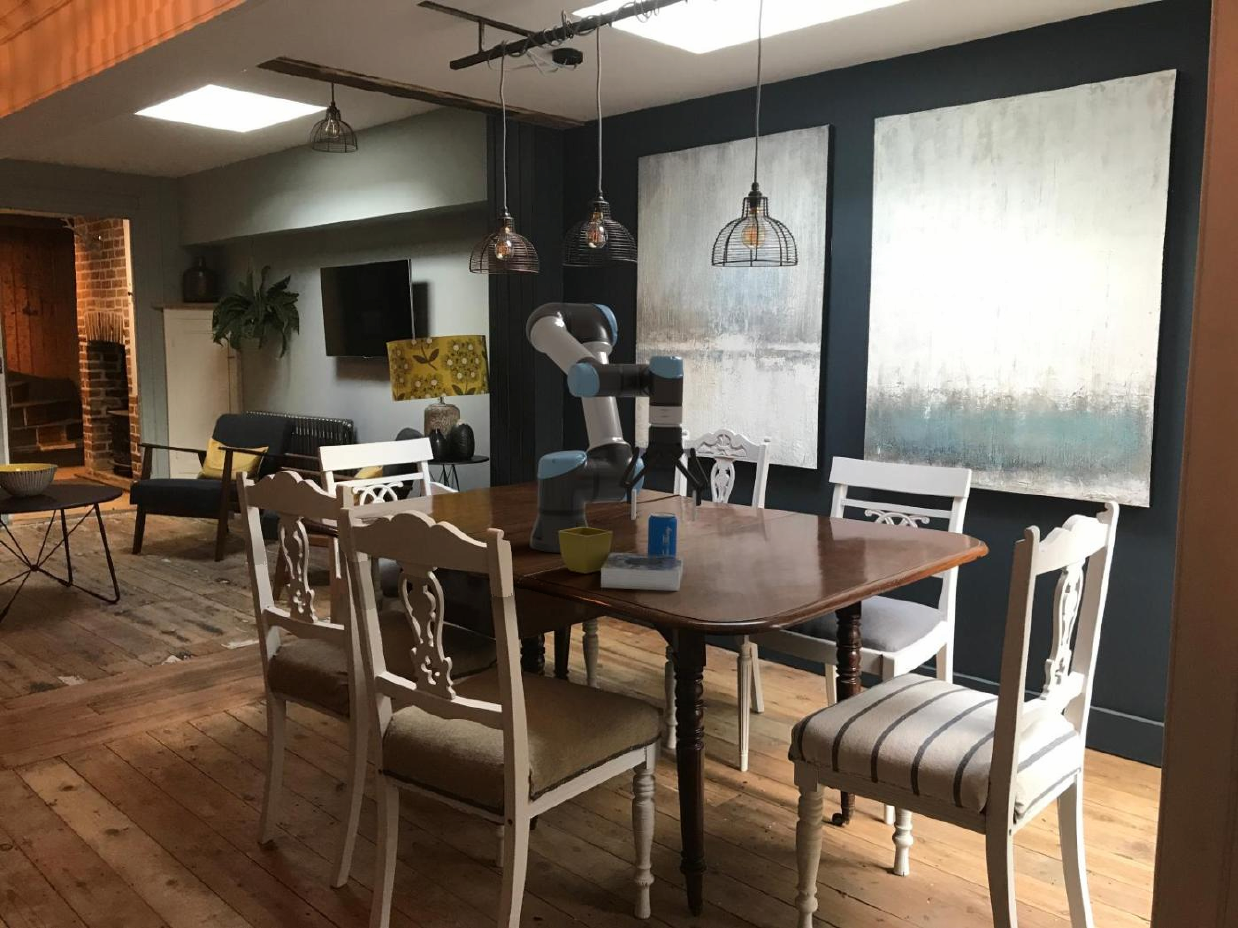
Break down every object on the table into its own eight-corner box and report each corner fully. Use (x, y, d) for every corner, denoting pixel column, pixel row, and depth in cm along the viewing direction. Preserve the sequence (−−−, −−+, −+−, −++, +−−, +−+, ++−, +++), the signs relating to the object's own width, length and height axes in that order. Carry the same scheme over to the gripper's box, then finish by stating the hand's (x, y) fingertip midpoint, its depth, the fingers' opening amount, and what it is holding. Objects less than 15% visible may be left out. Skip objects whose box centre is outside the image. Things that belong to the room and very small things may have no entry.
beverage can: (652, 570, 222) (653, 517, 221) (643, 564, 228) (645, 512, 227) (679, 569, 224) (681, 516, 222) (670, 563, 230) (672, 511, 229)
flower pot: (583, 564, 226) (583, 525, 225) (612, 570, 221) (613, 530, 220) (556, 571, 220) (557, 530, 219) (586, 577, 214) (587, 536, 213)
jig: (600, 587, 206) (601, 568, 205) (610, 570, 221) (610, 552, 221) (678, 590, 204) (679, 571, 203) (682, 573, 220) (682, 555, 219)
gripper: (607, 425, 220) (606, 520, 222) (721, 427, 217) (719, 523, 219) (611, 423, 227) (610, 515, 230) (721, 425, 225) (719, 518, 227)
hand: (663, 519), depth 224 cm, fingers open, 13 cm apart
